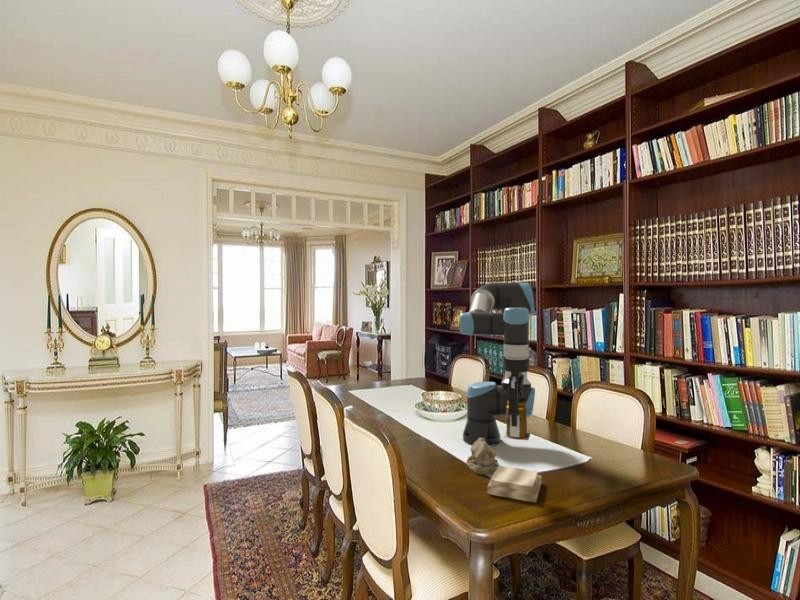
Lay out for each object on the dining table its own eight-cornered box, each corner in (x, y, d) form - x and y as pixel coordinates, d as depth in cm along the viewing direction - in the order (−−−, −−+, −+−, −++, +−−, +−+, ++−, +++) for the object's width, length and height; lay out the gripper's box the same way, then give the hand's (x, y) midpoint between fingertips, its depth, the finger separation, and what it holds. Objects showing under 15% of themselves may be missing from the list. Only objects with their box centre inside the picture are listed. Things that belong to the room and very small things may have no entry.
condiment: (503, 438, 132) (503, 398, 132) (507, 430, 140) (507, 392, 140) (528, 441, 130) (528, 401, 129) (531, 432, 137) (531, 394, 137)
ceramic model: (463, 459, 158) (463, 431, 158) (493, 458, 159) (493, 431, 159) (471, 475, 144) (471, 445, 144) (505, 474, 145) (505, 444, 145)
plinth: (487, 493, 131) (487, 480, 131) (496, 475, 143) (496, 463, 143) (536, 502, 125) (536, 488, 125) (541, 483, 138) (541, 470, 138)
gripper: (524, 363, 124) (524, 444, 124) (532, 354, 141) (532, 425, 141) (497, 361, 127) (498, 441, 127) (509, 353, 144) (509, 423, 144)
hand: (516, 432), depth 134 cm, fingers closed on condiment, 6 cm apart
